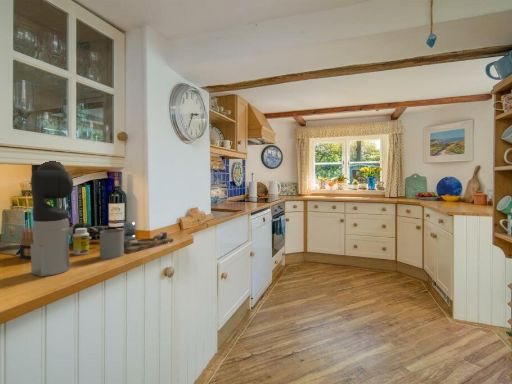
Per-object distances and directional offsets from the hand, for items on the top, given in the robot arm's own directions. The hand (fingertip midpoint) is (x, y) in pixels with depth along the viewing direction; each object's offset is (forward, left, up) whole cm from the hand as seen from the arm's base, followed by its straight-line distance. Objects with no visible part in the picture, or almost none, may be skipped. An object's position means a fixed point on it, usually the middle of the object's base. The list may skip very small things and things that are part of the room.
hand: (112, 230), depth 127 cm
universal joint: (+4, -7, -6) cm, 10 cm away
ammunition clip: (-30, +3, -6) cm, 31 cm away
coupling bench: (+5, -17, -6) cm, 19 cm away
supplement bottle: (-17, -5, -6) cm, 19 cm away
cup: (-13, -19, -6) cm, 24 cm away
